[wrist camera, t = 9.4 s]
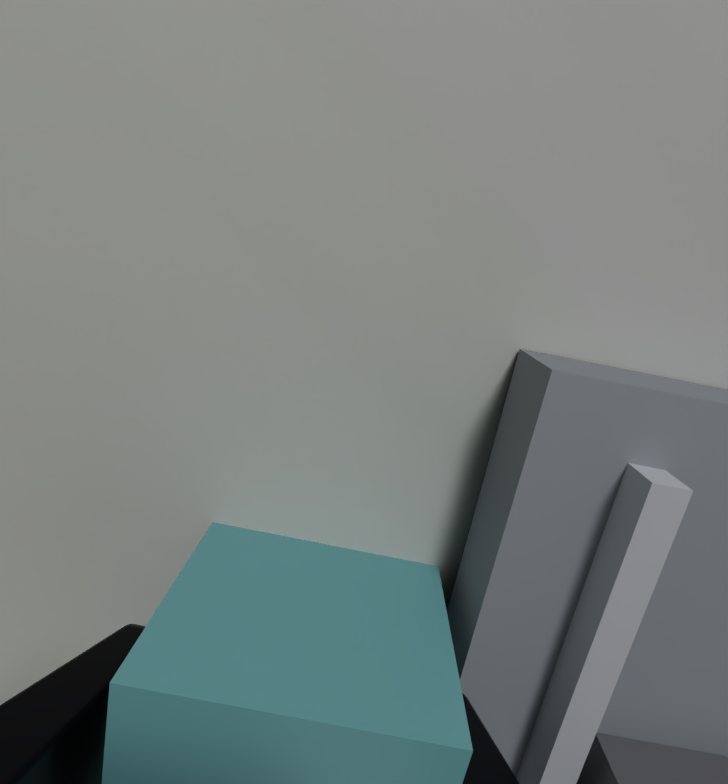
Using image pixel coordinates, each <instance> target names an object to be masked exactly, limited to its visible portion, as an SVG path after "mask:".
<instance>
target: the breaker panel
mask: <svg viewBox="0 0 728 784" xmlns="http://www.w3.org/2000/svg"><path fill="white" fill-rule="evenodd" d="M447 615H448V621H449V626H450V631H451V637H452V642H453V647H454V653H455V658H456V663H457V668H458V674H459V679H460V684H461V690H462V693H463V694H464V695H465V696H466V697H467V698H468V700H469V701H470V703H471V705H472V706H473V708H474V710H475V711H476V713H477V714H478V716H479V718H480V719H481V721H482V723H483V724H484V726H485V728H486V729H487V731H488V733H489V734H490V736H491V737H492V739H493V741H494V742H495V744H496V746H497V747H498V749H499V751H500V752H501V754H502V755H503V757H504V759H505V760H506V762H507V764H508V765H509V767H510V769H511V770H512V772H513V774H514V775H515V777H516V778H517V780H518V782H519V783H520V784H576V783H577V781H578V778H579V776H580V773H581V771H582V768H583V766H584V763H585V761H586V758H587V756H588V753H589V751H590V748H591V746H592V743H593V741H594V738H595V736H596V733H602V734H607V735H613V736H618V737H624V738H629V739H634V740H640V741H645V742H651V743H656V744H661V745H667V746H672V747H678V748H683V749H688V750H694V751H699V752H705V753H710V754H715V755H721V756H726V757H728V390H725V389H720V388H715V387H710V386H705V385H699V384H694V383H689V382H684V381H679V380H674V379H669V378H664V377H659V376H654V375H649V374H644V373H639V372H634V371H628V370H623V369H618V368H613V367H608V366H603V365H598V364H593V363H588V362H583V361H578V360H573V359H568V358H563V357H557V356H552V355H547V354H542V353H537V352H532V351H527V350H522V349H520V350H519V354H518V357H517V361H516V365H515V368H514V372H513V375H512V379H511V383H510V386H509V390H508V393H507V397H506V401H505V404H504V408H503V411H502V415H501V419H500V422H499V426H498V429H497V433H496V437H495V440H494V444H493V447H492V451H491V455H490V458H489V462H488V465H487V469H486V473H485V476H484V480H483V483H482V487H481V491H480V494H479V498H478V501H477V505H476V509H475V512H474V516H473V520H472V523H471V527H470V530H469V534H468V538H467V541H466V545H465V548H464V552H463V556H462V559H461V563H460V566H459V570H458V574H457V577H456V581H455V584H454V588H453V592H452V595H451V599H450V602H449V606H448V610H447Z"/></svg>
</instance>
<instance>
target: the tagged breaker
mask: <svg viewBox="0 0 728 784" xmlns="http://www.w3.org/2000/svg"><path fill="white" fill-rule="evenodd" d="M576 784H728V757H726V756H721V755H715V754H710V753H705V752H699V751H694V750H688V749H683V748H678V747H672V746H667V745H661V744H656V743H651V742H645V741H640V740H634V739H629V738H624V737H618V736H613V735H607V734H602V733H596V736H595V738H594V741H593V743H592V746H591V748H590V751H589V753H588V756H587V758H586V761H585V763H584V766H583V768H582V771H581V773H580V776H579V778H578V781H577V783H576Z"/></svg>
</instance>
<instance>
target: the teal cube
mask: <svg viewBox="0 0 728 784" xmlns="http://www.w3.org/2000/svg"><path fill="white" fill-rule="evenodd" d="M472 753H473V748H472V743H471V737H470V732H469V727H468V721H467V716H466V711H465V705H464V700H463V695H462V690H461V684H460V679H459V674H458V668H457V663H456V658H455V653H454V647H453V642H452V637H451V631H450V626H449V621H448V615H447V610H446V605H445V600H444V594H443V589H442V584H441V578H440V573H439V568H438V566H433V565H428V564H423V563H418V562H413V561H408V560H402V559H397V558H392V557H387V556H382V555H377V554H372V553H367V552H361V551H356V550H351V549H346V548H341V547H336V546H331V545H326V544H321V543H315V542H310V541H305V540H300V539H295V538H290V537H285V536H280V535H274V534H269V533H264V532H259V531H254V530H249V529H244V528H239V527H234V526H228V525H223V524H218V523H212V525H211V526H210V528H209V529H208V531H207V532H206V534H205V535H204V537H203V538H202V540H201V542H200V543H199V545H198V546H197V548H196V549H195V551H194V552H193V554H192V556H191V557H190V559H189V560H188V562H187V563H186V565H185V566H184V568H183V570H182V571H181V573H180V574H179V576H178V577H177V579H176V580H175V582H174V584H173V585H172V587H171V588H170V590H169V591H168V593H167V594H166V596H165V598H164V599H163V601H162V602H161V604H160V605H159V607H158V608H157V610H156V612H155V613H154V615H153V616H152V618H151V619H150V621H149V622H148V624H147V626H146V627H145V629H144V630H143V632H142V633H141V635H140V636H139V638H138V640H137V641H136V643H135V644H134V646H133V647H132V649H131V650H130V652H129V653H128V655H127V657H126V658H125V660H124V661H123V663H122V664H121V666H120V667H119V669H118V671H117V672H116V674H115V675H114V677H113V678H112V680H111V681H110V685H109V698H108V710H107V722H106V735H105V747H104V760H103V772H102V784H462V783H463V780H464V777H465V774H466V771H467V768H468V765H469V762H470V759H471V756H472Z"/></svg>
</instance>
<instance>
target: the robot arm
mask: <svg viewBox="0 0 728 784" xmlns="http://www.w3.org/2000/svg"><path fill="white" fill-rule="evenodd" d="M145 627H146V626H141V625H136V624H129V625H126V626H124V627H123V628H121V629H119V630H118V631H116V632H115V633H113V634H112V635H110V636H108V637H107V638H105V639H104V640H102V641H101V642H99V643H97V644H96V645H94V646H93V647H91V648H90V649H88V650H86V651H85V652H83V653H82V654H80V655H79V656H77V657H75V658H74V659H72V660H71V661H69V662H67V663H66V664H64V665H63V666H61V667H60V668H58V669H56V670H55V671H53V672H52V673H50V674H49V675H47V676H45V677H44V678H42V679H41V680H39V681H38V682H36V683H34V684H33V685H31V686H30V687H28V688H27V689H25V690H23V691H22V692H20V693H19V694H17V695H16V696H14V697H12V698H11V699H9V700H8V701H6V702H5V703H3V704H1V705H0V784H102V772H103V760H104V747H105V735H106V722H107V710H108V698H109V685H110V681H111V680H112V678H113V677H114V675H115V674H116V672H117V671H118V669H119V667H120V666H121V664H122V663H123V661H124V660H125V658H126V657H127V655H128V653H129V652H130V650H131V649H132V647H133V646H134V644H135V643H136V641H137V640H138V638H139V636H140V635H141V633H142V632H143V630H144V629H145ZM462 695H463V700H464V705H465V711H466V716H467V721H468V727H469V732H470V737H471V743H472V748H473V753H472V756H471V759H470V762H469V765H468V768H467V771H466V774H465V777H464V780H463V783H462V784H520V783H519V782H518V780H517V778H516V777H515V775H514V774H513V772H512V770H511V769H510V767H509V765H508V764H507V762H506V760H505V759H504V757H503V755H502V754H501V752H500V751H499V749H498V747H497V746H496V744H495V742H494V741H493V739H492V737H491V736H490V734H489V733H488V731H487V729H486V728H485V726H484V724H483V723H482V721H481V719H480V718H479V716H478V714H477V713H476V711H475V710H474V708H473V706H472V705H471V703H470V701H469V700H468V698H467V697H466V696H465V695H464V694H463V693H462Z"/></svg>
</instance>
